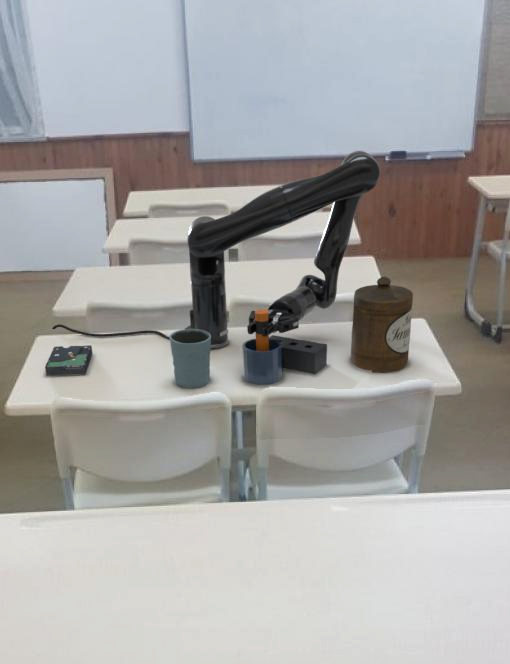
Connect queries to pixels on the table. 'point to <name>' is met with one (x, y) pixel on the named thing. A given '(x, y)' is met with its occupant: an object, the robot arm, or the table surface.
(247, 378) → the pencil cup
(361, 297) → the wooden container
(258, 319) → the screwdriver
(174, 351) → the grey-green cup
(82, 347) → the disk drive
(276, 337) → the holder
